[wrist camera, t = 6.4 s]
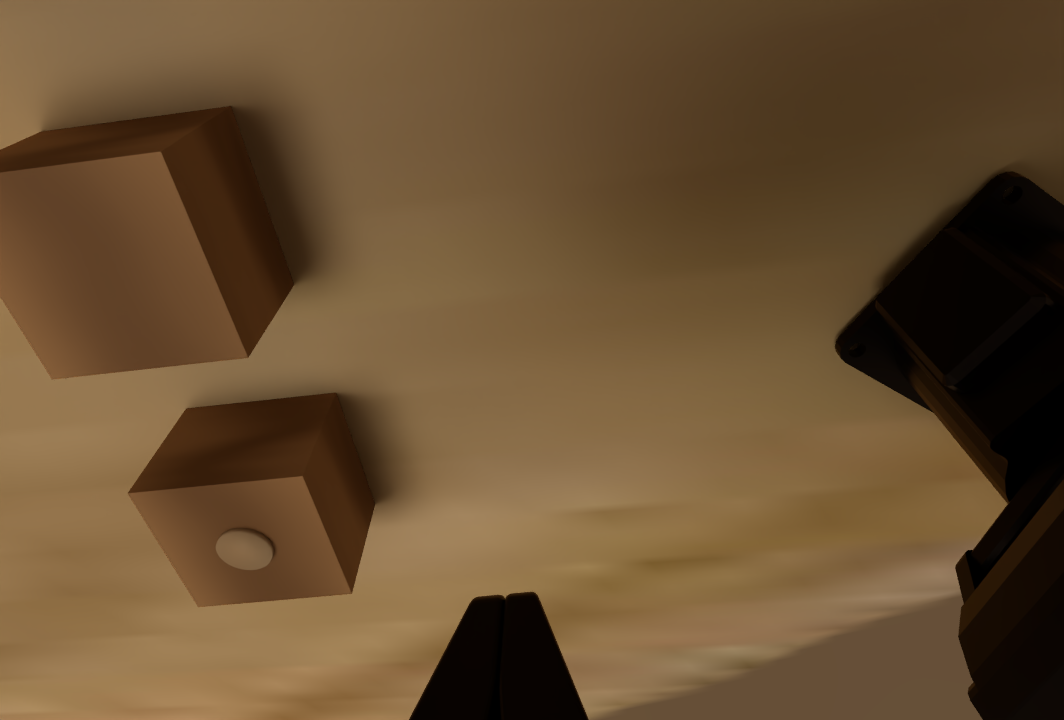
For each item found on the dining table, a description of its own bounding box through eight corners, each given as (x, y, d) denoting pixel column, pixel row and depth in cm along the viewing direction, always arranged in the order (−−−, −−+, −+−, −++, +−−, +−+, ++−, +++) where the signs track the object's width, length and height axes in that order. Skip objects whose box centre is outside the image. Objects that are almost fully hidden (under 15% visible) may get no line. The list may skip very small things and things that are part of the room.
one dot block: (336, 390, 22) (300, 481, 18) (375, 501, 25) (350, 599, 21) (187, 405, 22) (123, 498, 19) (242, 514, 25) (195, 612, 21)
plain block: (232, 105, 17) (161, 151, 14) (295, 282, 20) (248, 357, 16) (44, 130, 17) (-72, 181, 14) (131, 301, 20) (52, 379, 17)
